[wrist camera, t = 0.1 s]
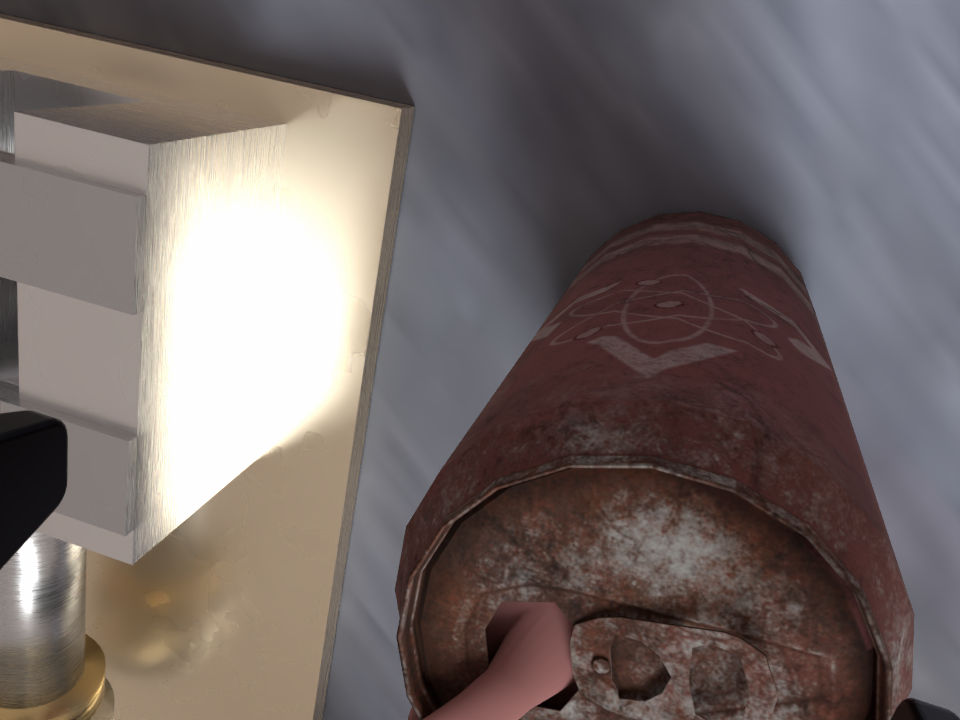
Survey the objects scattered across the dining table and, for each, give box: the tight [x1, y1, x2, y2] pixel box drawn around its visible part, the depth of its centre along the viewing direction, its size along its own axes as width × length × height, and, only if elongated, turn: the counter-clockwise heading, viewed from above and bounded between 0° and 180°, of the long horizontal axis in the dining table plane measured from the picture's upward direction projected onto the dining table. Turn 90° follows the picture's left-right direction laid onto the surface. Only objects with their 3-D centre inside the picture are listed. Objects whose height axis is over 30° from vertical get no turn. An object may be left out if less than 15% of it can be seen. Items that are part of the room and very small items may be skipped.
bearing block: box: [0, 13, 415, 720], centre depth 25 cm, size 25×16×7 cm, turn 169°
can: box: [395, 212, 914, 720], centre depth 16 cm, size 6×6×14 cm
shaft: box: [0, 341, 115, 720], centre depth 25 cm, size 14×5×5 cm, turn 169°
